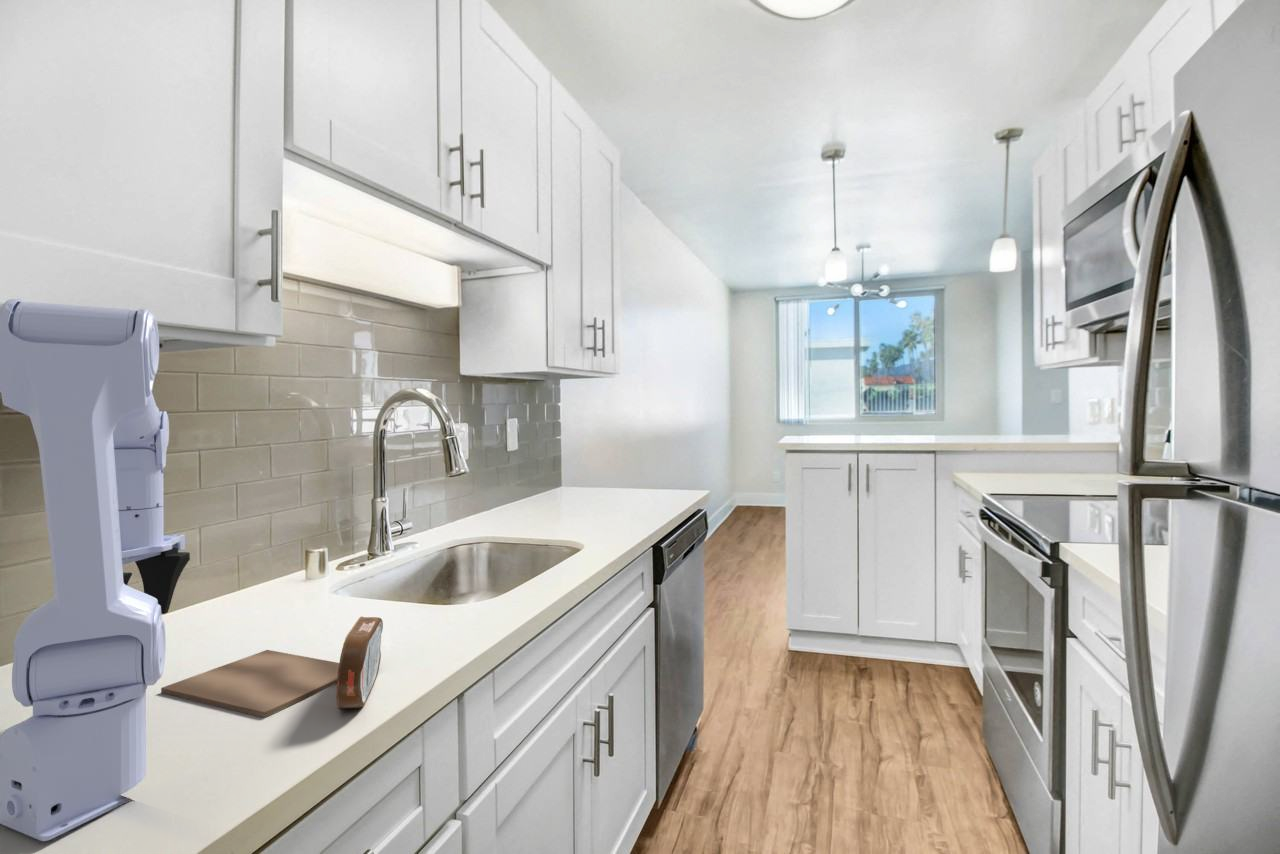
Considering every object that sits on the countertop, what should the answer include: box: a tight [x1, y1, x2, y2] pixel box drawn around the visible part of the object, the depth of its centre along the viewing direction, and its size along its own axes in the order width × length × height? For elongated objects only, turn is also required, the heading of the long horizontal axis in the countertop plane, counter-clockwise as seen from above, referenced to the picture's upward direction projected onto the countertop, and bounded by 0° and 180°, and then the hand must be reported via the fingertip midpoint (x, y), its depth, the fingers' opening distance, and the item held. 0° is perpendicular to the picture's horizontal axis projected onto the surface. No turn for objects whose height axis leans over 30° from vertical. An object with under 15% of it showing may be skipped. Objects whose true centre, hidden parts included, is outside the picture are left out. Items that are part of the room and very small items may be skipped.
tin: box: [335, 616, 384, 710], centre depth 76 cm, size 15×3×8 cm, turn 14°
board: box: [160, 649, 339, 718], centre depth 79 cm, size 14×18×1 cm
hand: (133, 623), depth 74 cm, fingers open, 7 cm apart
